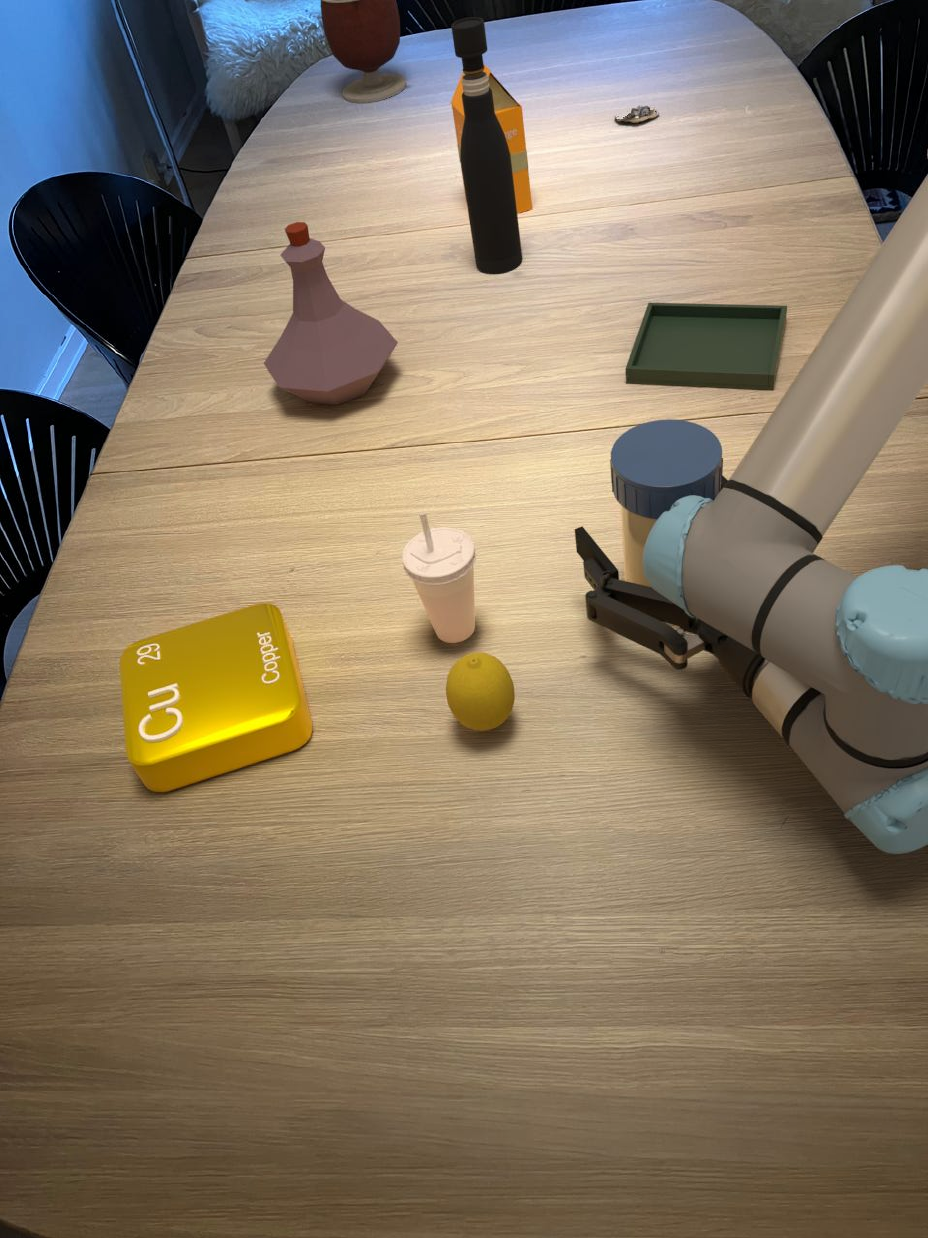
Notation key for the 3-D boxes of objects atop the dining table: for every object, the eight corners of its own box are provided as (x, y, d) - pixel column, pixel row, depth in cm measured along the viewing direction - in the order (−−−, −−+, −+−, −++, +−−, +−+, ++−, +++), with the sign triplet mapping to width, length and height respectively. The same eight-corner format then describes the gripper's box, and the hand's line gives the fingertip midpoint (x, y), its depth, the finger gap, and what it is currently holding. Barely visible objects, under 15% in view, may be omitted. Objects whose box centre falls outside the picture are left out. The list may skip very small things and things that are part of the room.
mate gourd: (338, 84, 201) (312, -33, 187) (408, 70, 200) (387, -48, 186) (340, 113, 190) (312, -9, 176) (414, 98, 190) (392, -25, 175)
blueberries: (607, 124, 168) (607, 112, 167) (631, 105, 173) (630, 93, 171) (644, 128, 165) (644, 116, 164) (667, 108, 169) (667, 96, 168)
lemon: (444, 741, 86) (428, 680, 80) (468, 691, 89) (453, 629, 84) (507, 755, 84) (494, 693, 78) (528, 704, 87) (518, 640, 82)
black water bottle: (531, 260, 141) (505, 18, 119) (493, 278, 139) (460, 35, 117) (504, 246, 145) (474, 9, 123) (467, 263, 143) (430, 26, 121)
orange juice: (512, 187, 157) (496, 45, 143) (533, 208, 151) (518, 63, 137) (464, 201, 156) (443, 59, 142) (483, 223, 150) (463, 78, 136)
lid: (728, 455, 87) (729, 421, 85) (713, 525, 81) (714, 491, 79) (623, 448, 90) (622, 415, 87) (601, 515, 84) (599, 482, 82)
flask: (334, 439, 118) (287, 278, 104) (246, 397, 127) (192, 244, 113) (432, 369, 125) (401, 209, 111) (342, 333, 134) (303, 182, 120)
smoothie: (423, 605, 97) (394, 491, 87) (490, 600, 96) (469, 483, 87) (418, 656, 93) (387, 541, 83) (489, 651, 92) (466, 534, 82)
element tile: (318, 745, 88) (303, 709, 84) (145, 801, 86) (123, 767, 83) (289, 627, 98) (275, 591, 95) (134, 675, 97) (115, 641, 93)
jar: (715, 564, 95) (720, 432, 85) (703, 623, 91) (706, 491, 80) (633, 556, 98) (628, 426, 87) (617, 613, 93) (609, 483, 82)
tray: (786, 320, 121) (787, 305, 120) (773, 390, 112) (774, 374, 111) (648, 316, 126) (648, 302, 125) (626, 383, 117) (625, 368, 116)
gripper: (644, 764, 78) (525, 593, 92) (921, 640, 82) (766, 494, 96) (641, 701, 72) (516, 530, 87) (938, 572, 77) (771, 429, 91)
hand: (647, 511), depth 92 cm, fingers open, 13 cm apart
